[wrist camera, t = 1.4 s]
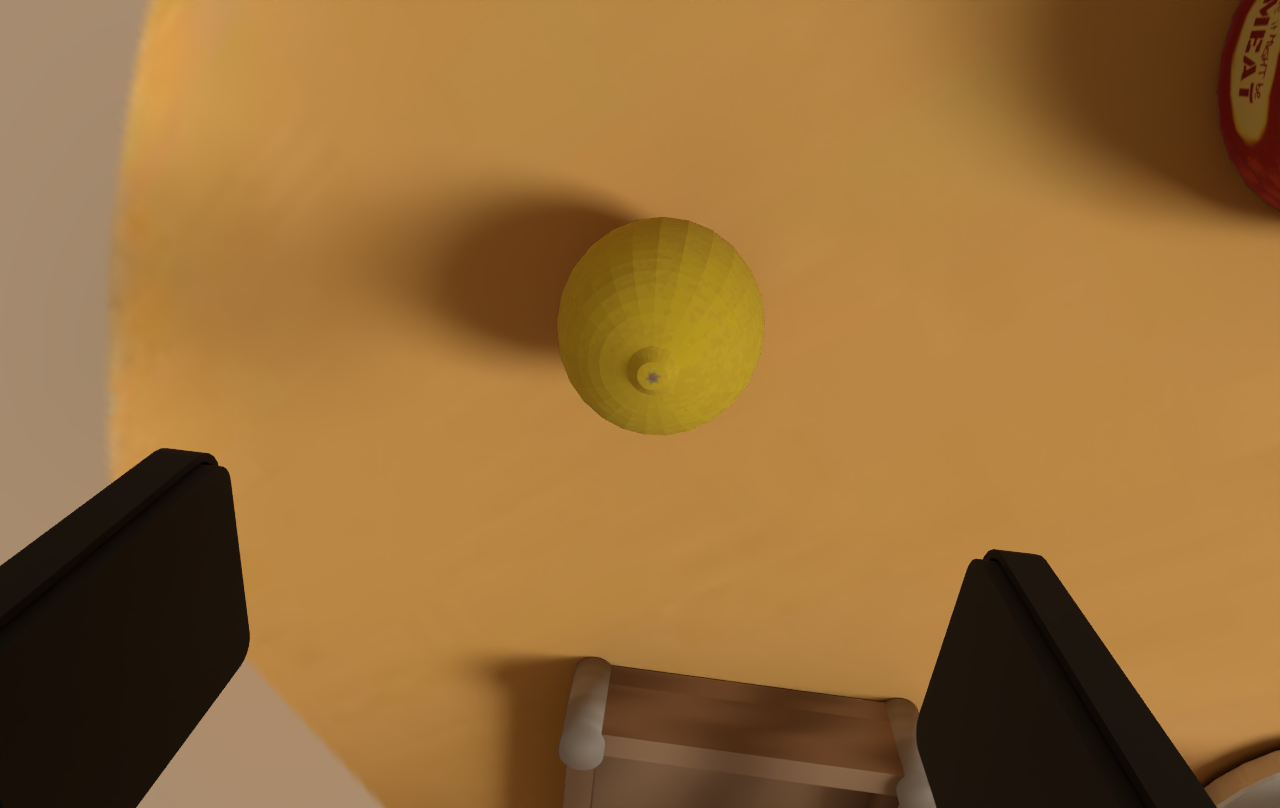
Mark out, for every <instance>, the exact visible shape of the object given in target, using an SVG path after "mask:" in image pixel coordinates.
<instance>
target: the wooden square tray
mask: <svg viewBox="0 0 1280 808" xmlns="http://www.w3.org/2000/svg"><path fill="white" fill-rule="evenodd" d="M918 716H919V712H918V709H917V707H916V706H915V705H914V704H913V703H912V702H910V701H908V700H906V699H900V698H898V699H891V700H888V701H886V702H878V701H870V700H863V699H855V698H848V697H840V696H833V695H826V694H818V693H811V692H803V691H796V690H789V689H781V688H774V687H766V686H759V685H751V684H744V683H737V682H729V681H722V680H714V679H707V678H699V677H692V676H685V675H677V674H670V673H662V672H655V671H648V670H640V669H633V668H625V667H618V666H612V665H611V664H610V663H609V662H607V661H605V660H603V659H601V658H595V657H591V658H586V659H584V660H582V661H580V662H579V663H578V664H577V666H576V669H575V673H574V678H573V683H572V687H571V692H570V697H569V701H568V706H567V711H566V716H565V720H564V725H563V730H562V734H561V739H560V744H559V749H558V755H559V757H560V759H561V761H562V762H563V763H564V764H565V765H567V766H566V777H565V788H564V798H563V808H936V805H935V801H934V798H933V795H932V792H931V789H930V786H929V783H928V780H927V777H926V773H925V770H924V767H923V764H922V761H921V758H920V755H919V752H918V747H917V741H916V727H917V720H918Z"/></svg>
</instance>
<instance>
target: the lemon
mask: <svg viewBox="0 0 1280 808" xmlns="http://www.w3.org/2000/svg"><path fill="white" fill-rule="evenodd" d="M764 325H765V322H764V313H763V306H762V298H761V293H760V291H759V288H758V286H757V284H756V281H755V279H754V276H753V274H752V272H751V269H750V268H749V266H748V265H747V264H746V262H745V261H744V260H743V259H742V257H741V256H740V255H739V253H738V252H737V251H736V250H735V248H734V247H733V246H732V245H731V244H730V243H728V242H727V241H726V240H724V239H723V238H722V237H720V236H719V235H718V234H717V233H715V232H714V231H713V230H710V229H708V228H706V227H703V226H701V225H698V224H696V223H693V222H691V221H688V220H681V219H674V218H667V217H659V218H650V219H641V220H636V221H634V222H631V223H628V224H626V225H623V226H621V227H618V228H616V229H614V230H612V231H611V232H609V233H608V234H607V235H605V236H604V237H602V238H601V239H600V240H598V241H597V242H596V243H594V244H593V245H591V247H590V248H589V249H588V250H587V252H586V253H585V254H584V255H583V256H582V258H581V259H580V260H579V261H578V263H577V264H576V265H575V266H574V268H573V269H572V272H571V274H570V276H569V278H568V281H567V283H566V285H565V288H564V290H563V292H562V295H561V300H560V307H559V313H558V320H557V332H558V342H559V352H560V357H561V359H562V362H563V365H564V367H565V370H566V372H567V375H568V378H569V380H570V382H571V384H572V385H573V387H574V388H575V389H576V391H577V392H578V394H579V395H580V396H581V398H582V399H583V401H584V402H585V403H586V404H587V405H589V406H590V407H591V408H592V409H593V410H594V411H595V412H597V413H598V414H599V415H600V416H601V417H602V418H604V419H606V420H607V421H609V422H611V423H613V424H615V425H617V426H619V427H621V428H623V429H626V430H630V431H634V432H638V433H641V434H651V435H670V434H675V433H680V432H685V431H689V430H692V429H694V428H696V427H698V426H700V425H703V424H705V423H707V422H709V421H711V420H713V419H714V418H715V417H717V416H718V415H719V414H720V413H722V412H723V411H724V410H725V409H727V408H728V407H729V406H730V405H731V404H732V403H733V402H734V401H735V400H736V398H737V397H738V396H739V394H740V393H741V392H742V390H743V389H744V388H745V386H746V385H747V384H748V382H749V381H750V378H751V376H752V373H753V371H754V369H755V366H756V364H757V361H758V359H759V356H760V354H761V348H762V340H763V333H764Z"/></svg>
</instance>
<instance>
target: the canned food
mask: <svg viewBox="0 0 1280 808" xmlns="http://www.w3.org/2000/svg"><path fill="white" fill-rule="evenodd" d="M1216 94H1217V106H1218V117H1219V128H1220V131H1221V134H1222V137H1223V140H1224V143H1225V146H1226V149H1227V152H1228V156H1229V159H1230V160H1231V162H1232V163H1233V165H1234V166H1235V168H1236V170H1237V171H1238V173H1239V174H1240V176H1241V177H1242V179H1243V181H1244V182H1245V184H1246V185H1247V186H1248V187H1249V188H1250V189H1251V190H1253V191H1254V192H1255V193H1256V194H1257V195H1258V196H1259V197H1260V198H1261V199H1262V200H1263V201H1264V202H1266V203H1267V204H1268V205H1269V206H1271V207H1273V208H1275V209H1277V210H1279V211H1280V0H1241V1H1240V3H1239V5H1238V7H1237V9H1236V11H1235V13H1234V15H1233V17H1232V21H1231V24H1230V27H1229V30H1228V34H1227V37H1226V40H1225V43H1224V47H1223V50H1222V53H1221V58H1220V67H1219V75H1218V84H1217V92H1216Z"/></svg>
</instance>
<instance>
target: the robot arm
mask: <svg viewBox="0 0 1280 808" xmlns="http://www.w3.org/2000/svg"><path fill="white" fill-rule="evenodd" d="M249 641H250V632H249V624H248V616H247V608H246V600H245V592H244V584H243V576H242V568H241V559H240V551H239V543H238V535H237V527H236V519H235V511H234V503H233V495H232V487H231V479H230V475H229V472H228V471H227V469H226V468H224V467H221V466H218V462H217V461H216V459H215V457H214V456H212V455H211V454H209V453H201V452H193V451H185V450H177V449H169V448H161V449H159V450H157V451H155V452H153V453H152V454H151V455H149V456H148V457H146V458H145V459H144V460H142V461H141V462H140V463H138V464H137V465H136V466H134V467H133V468H132V469H130V470H129V471H128V472H126V473H125V474H124V475H122V476H121V477H120V478H118V479H117V480H115V481H114V482H113V483H111V484H110V485H109V486H107V487H106V488H105V489H103V490H102V491H101V492H99V493H98V494H97V495H95V496H94V497H93V498H92V499H90V500H89V501H87V502H86V503H85V504H83V505H82V506H81V507H79V508H78V509H76V510H75V511H74V512H72V513H71V514H70V515H68V516H67V517H66V518H64V519H63V520H62V521H60V522H59V523H58V524H56V525H55V526H54V527H52V528H51V529H49V530H48V531H47V532H45V533H44V534H43V535H41V536H40V537H39V538H37V539H36V540H35V541H33V542H32V543H31V544H29V545H28V546H27V547H25V548H24V549H23V550H21V551H20V552H19V553H17V554H16V555H15V556H13V557H12V558H11V559H9V560H8V561H6V562H5V563H4V564H2V565H1V566H0V808H136V807H137V806H138V804H139V803H140V802H141V800H142V799H143V798H144V796H145V795H146V793H147V792H148V791H149V789H150V788H151V787H152V785H153V784H154V783H155V781H156V780H157V779H158V777H159V776H160V774H161V773H162V772H163V770H164V769H165V768H166V766H167V765H168V764H169V762H170V761H171V760H172V758H173V757H174V756H175V754H176V753H177V752H178V750H179V749H180V747H181V746H182V745H183V743H184V742H185V741H186V739H187V738H188V737H189V735H190V734H191V732H192V731H193V730H194V728H195V727H196V726H197V724H198V723H199V722H200V720H201V719H202V717H203V716H204V715H205V713H206V712H207V711H208V709H209V708H210V707H211V705H212V704H213V702H214V701H215V700H216V699H217V697H218V696H219V694H220V693H221V692H222V690H223V689H224V688H225V686H226V685H227V684H228V682H229V681H230V680H231V678H232V677H233V676H234V674H235V673H236V671H237V670H238V669H239V667H240V666H241V664H242V663H243V661H244V659H245V656H246V654H247V651H248V647H249ZM916 741H917V747H918V752H919V755H920V758H921V761H922V764H923V767H924V770H925V773H926V777H927V780H928V783H929V786H930V789H931V792H932V795H933V798H934V801H935V805H936V808H1280V750H1277V751H1274V752H1271V753H1269V754H1266V755H1264V756H1261V757H1259V758H1256V759H1254V760H1251V761H1249V762H1246V763H1244V764H1242V765H1240V766H1238V767H1237V768H1235V769H1233V770H1231V771H1229V772H1228V773H1226V774H1224V775H1222V776H1220V777H1219V778H1217V779H1215V780H1214V781H1213V782H1211V783H1210V784H1209V785H1208V786H1206V787H1205V788H1203V786H1202V785H1201V783H1200V782H1199V781H1198V779H1197V778H1196V776H1195V775H1194V773H1193V772H1192V771H1191V769H1190V768H1189V766H1188V765H1187V763H1186V762H1185V760H1184V759H1183V758H1182V756H1181V755H1180V753H1179V752H1178V750H1177V749H1176V747H1175V746H1174V745H1173V743H1172V742H1171V740H1170V739H1169V737H1168V736H1167V734H1166V733H1165V732H1164V730H1163V729H1162V727H1161V726H1160V724H1159V723H1158V721H1157V720H1156V719H1155V717H1154V716H1153V714H1152V713H1151V711H1150V710H1149V708H1148V707H1147V706H1146V704H1145V703H1144V701H1143V700H1142V698H1141V697H1140V695H1139V694H1138V693H1137V691H1136V690H1135V688H1134V687H1133V685H1132V684H1131V682H1130V681H1129V680H1128V678H1127V677H1126V675H1125V674H1124V672H1123V671H1122V669H1121V668H1120V667H1119V665H1118V664H1117V662H1116V661H1115V659H1114V658H1113V656H1112V655H1111V654H1110V652H1109V651H1108V649H1107V648H1106V646H1105V645H1104V643H1103V642H1102V641H1101V639H1100V638H1099V636H1098V635H1097V633H1096V632H1095V630H1094V629H1093V628H1092V626H1091V625H1090V623H1089V622H1088V620H1087V619H1086V617H1085V616H1084V615H1083V613H1082V612H1081V610H1080V609H1079V607H1078V606H1077V604H1076V603H1075V602H1074V600H1073V599H1072V597H1071V596H1070V594H1069V593H1068V591H1067V590H1066V589H1065V587H1064V586H1063V584H1062V583H1061V581H1060V580H1059V578H1058V577H1057V576H1056V574H1055V573H1054V571H1053V570H1052V568H1051V567H1050V565H1049V564H1048V563H1047V561H1046V560H1045V559H1044V558H1043V557H1042V556H1040V555H1036V554H1029V553H1020V552H1012V551H1004V550H996V549H993V550H990V551H988V552H987V554H986V555H985V556H984V558H983V560H982V559H974V560H972V561H971V563H970V564H969V566H968V568H967V571H966V574H965V577H964V580H963V583H962V586H961V589H960V592H959V595H958V598H957V601H956V604H955V607H954V610H953V613H952V616H951V619H950V622H949V626H948V629H947V632H946V635H945V638H944V641H943V644H942V647H941V650H940V653H939V656H938V659H937V662H936V665H935V668H934V671H933V674H932V677H931V680H930V683H929V686H928V689H927V692H926V695H925V698H924V701H923V704H922V707H921V710H920V713H919V716H918V720H917V727H916Z"/></svg>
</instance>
